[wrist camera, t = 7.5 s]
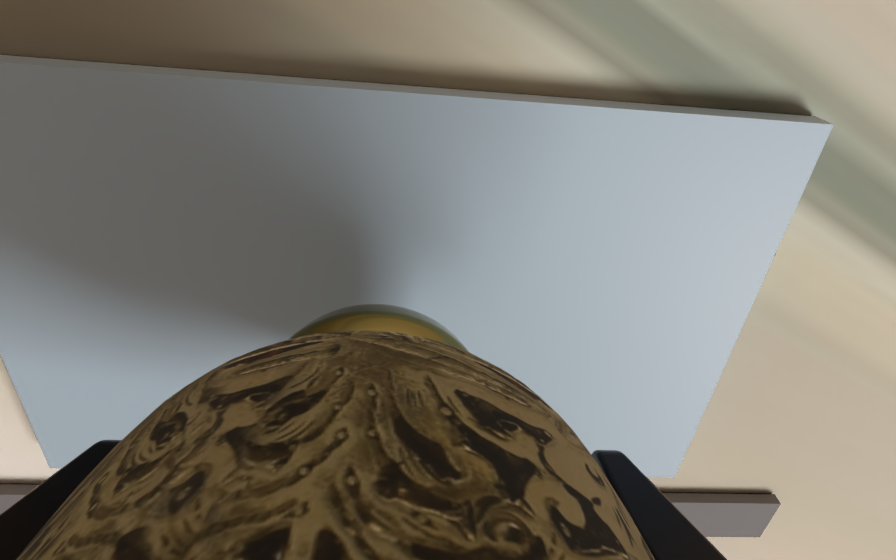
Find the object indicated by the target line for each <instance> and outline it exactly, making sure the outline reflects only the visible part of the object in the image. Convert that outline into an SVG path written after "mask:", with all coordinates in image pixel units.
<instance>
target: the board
mask: <svg viewBox="0 0 896 560" xmlns="http://www.w3.org/2000/svg"><path fill="white" fill-rule="evenodd" d="M832 127H833V124H831V123H829V122H827V121H824V120H822V119H820V118H818V117H816V116H804V115H790V114H777V113H764V112H751V111H737V110H724V109H711V108H698V107H684V106H671V105H658V104H645V103H631V102H618V101H605V100H592V99H579V98H565V97H552V96H539V95H526V94H512V93H499V92H486V91H473V90H459V89H446V88H433V87H420V86H406V85H393V84H380V83H367V82H353V81H340V80H327V79H314V78H301V77H287V76H274V75H261V74H248V73H234V72H221V71H208V70H195V69H181V68H168V67H155V66H142V65H128V64H115V63H102V62H89V61H76V60H62V59H49V58H36V57H23V56H9V55H0V355H1V357H2V359H3V362H4V364H5V366H6V369H7V371H8V373H9V375H10V378H11V380H12V382H13V385H14V387H15V389H16V391H17V394H18V396H19V398H20V401H21V403H22V405H23V408H24V410H25V412H26V414H27V417H28V419H29V421H30V424H31V426H32V428H33V430H34V433H35V435H36V437H37V440H38V442H39V444H40V446H41V449H42V451H43V453H44V456H45V458H46V460H47V463H48V465H49V467H50V468H63V467H64V466H65V465H67V464H68V463H69V462H71V461H72V460H73V459H75V458H76V457H77V456H79V455H80V454H81V453H83V452H84V451H85V450H87V449H88V448H89V447H91V446H92V445H93V444H95V443H97V442H99V441H101V440H122V439H124V438H125V437H126V436H127V435H128V434H129V433H130V432H131V431H132V430H133V429H134V428H135V427H136V426H138V425H139V424H140V423H141V422H142V421H143V420H144V419H145V418H146V417H148V416H149V415H150V414H151V413H152V412H153V411H154V410H155V409H156V408H157V407H159V406H160V405H161V404H162V403H163V402H164V401H165V400H167V399H168V398H170V397H171V396H173V395H174V394H175V393H177V392H178V391H180V390H181V389H183V388H184V387H185V386H187V385H188V384H190V383H192V382H193V381H195V380H196V379H198V378H200V377H201V376H203V375H204V374H206V373H207V372H209V371H211V370H213V369H215V368H216V367H218V366H220V365H222V364H224V363H226V362H228V361H229V360H231V359H234V358H236V357H239V356H241V355H244V354H246V353H249V352H251V351H254V350H256V349H259V348H262V347H265V346H268V345H271V344H275V343H278V342H282V341H285V340H288V339H289V338H290V337H291V336H293V335H294V334H295V333H296V332H297V331H299V330H300V329H301V328H303V327H304V326H306V325H307V324H309V323H310V322H311V321H313V320H315V319H317V318H319V317H321V316H322V315H324V314H327V313H329V312H332V311H334V310H337V309H341V308H344V307H349V306H354V305H363V304H386V305H394V306H399V307H404V308H407V309H411V310H414V311H417V312H419V313H422V314H424V315H426V316H428V317H430V318H432V319H434V320H436V321H437V322H439V323H440V324H442V325H443V326H444V327H446V328H447V329H448V330H449V331H450V332H452V333H453V334H454V335H455V336H456V337H457V338H458V339H459V340H460V341H461V343H462V344H463V345H464V346H465V347H466V348H467V349H468V351H469V352H470V353H472V354H473V355H475V356H477V357H479V358H481V359H483V360H485V361H487V362H489V363H491V364H493V365H495V366H497V367H499V368H500V369H502V370H504V371H506V372H507V373H509V374H510V375H512V376H513V377H515V378H516V379H518V380H519V381H521V382H522V383H524V384H525V385H526V386H527V387H529V388H530V389H531V390H532V391H533V392H534V393H536V394H537V395H538V396H539V397H540V398H541V399H543V400H544V401H545V402H546V403H547V404H548V405H549V406H550V407H551V408H552V409H553V410H554V411H556V412H557V413H558V414H559V415H560V416H561V418H562V419H563V420H564V421H565V422H566V423H567V424H568V425H569V426H570V428H571V429H572V430H573V431H574V432H575V434H576V435H577V436H578V438H579V439H580V440H581V442H582V443H583V444H584V446H585V447H586V448H587V450H588V451H589V452H590V454H592V453H593V452H594V451H595V450H617V451H620V452H622V453H623V454H625V455H626V456H627V457H628V458H629V459H630V460H631V462H632V463H633V464H634V465H635V466H636V467H637V468H638V469H639V470H640V471H641V472H642V473H643V474H644V475H645V476H646V477H658V478H675V476H676V473H677V471H678V469H679V467H680V465H681V462H682V460H683V458H684V456H685V453H686V451H687V449H688V447H689V445H690V442H691V440H692V438H693V436H694V433H695V431H696V429H697V427H698V425H699V422H700V420H701V418H702V416H703V413H704V411H705V409H706V407H707V405H708V402H709V400H710V398H711V396H712V393H713V391H714V389H715V387H716V384H717V382H718V380H719V378H720V376H721V373H722V371H723V369H724V367H725V364H726V362H727V360H728V358H729V356H730V353H731V351H732V349H733V347H734V344H735V342H736V340H737V338H738V336H739V333H740V331H741V329H742V327H743V324H744V322H745V320H746V318H747V316H748V313H749V311H750V309H751V307H752V304H753V302H754V300H755V298H756V296H757V293H758V291H759V289H760V287H761V284H762V282H763V280H764V278H765V276H766V273H767V271H768V269H769V267H770V264H771V262H772V260H773V258H774V256H775V253H776V251H777V249H778V247H779V244H780V242H781V240H782V238H783V236H784V233H785V231H786V229H787V227H788V224H789V222H790V220H791V218H792V216H793V213H794V211H795V209H796V207H797V204H798V202H799V200H800V198H801V196H802V193H803V191H804V189H805V187H806V184H807V182H808V180H809V178H810V176H811V173H812V171H813V169H814V167H815V164H816V162H817V160H818V158H819V156H820V153H821V151H822V149H823V147H824V144H825V142H826V140H827V138H828V136H829V133H830V131H831V129H832Z"/></svg>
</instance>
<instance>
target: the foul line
mask: <svg viewBox="0 0 896 560" xmlns="http://www.w3.org/2000/svg"><path fill="white" fill-rule="evenodd" d="M37 486H39V485H22V484H0V514H1V513H2V512H4V511H5V510H6V509H8V508H9V507H10V506H12V505H13V504H15V503H16V502H17V501H19V500H20V499H21V498H23V497H24V496H25V495H27V494H28V493H29V492H31V491H32V490H33V489H35V488H36V487H37ZM663 494H664V495H665V496H666V497H667V498H668V499H669V501H670V502H671V503H672V504H673V505H674V506H675V507H676V508H677V509H678V510H679V511H680V512H681V513H682V514H683V515H684V516H685V517H686V518H687V519H688V520H689V521H690V522H691V523H692V524H693V525H694V526H695V527H696V528H697V529H698V530H699V531H700V532H701V533H702V534H703V535H704V536H705V537H760V536H761V535H762V533H763V531H764V530H765V528H766V527H767V525H768V523H769V522H770V520H771V519H772V517H773V515H774V514H775V512H776V511H777V509H778V507H779V506H780V502H779V500H778V499H777V497H776V496H775V494H704V493H663Z"/></svg>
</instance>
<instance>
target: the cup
mask: <svg viewBox="0 0 896 560" xmlns="http://www.w3.org/2000/svg"><path fill="white" fill-rule="evenodd" d="M16 560H655V559H654V557H653V555H652V554H651V552H650V550H649V548H648V546H647V545H646V543H645V541H644V539H643V537H642V536H641V534H640V532H639V530H638V528H637V527H636V525H635V523H634V521H633V519H632V518H631V516H630V514H629V513H628V511H627V509H626V508H625V506H624V505H623V503H622V501H621V500H620V498H619V497H618V495H617V493H616V492H615V490H614V488H613V487H612V485H611V484H610V482H609V480H608V479H607V477H606V476H605V474H604V473H603V471H602V470H601V468H600V466H599V465H598V463H597V462H596V460H595V459H594V458H593V456H592V455H591V454H590V452H589V451H588V450H587V448H586V447H585V446H584V444H583V443H582V442H581V440H580V439H579V438H578V436H577V435H576V434H575V432H574V431H573V430H572V429H571V428H570V426H569V425H568V424H567V423H566V422H565V421H564V420H563V419H562V418H561V416H560V415H559V414H558V413H557V412H556V411H554V410H553V409H552V408H551V407H550V406H549V405H548V404H547V403H546V402H545V401H544V400H543V399H541V398H540V397H539V396H538V395H537V394H536V393H534V392H533V391H532V390H531V389H530V388H529V387H527V386H526V385H525V384H524V383H522V382H521V381H519V380H518V379H516V378H515V377H513V376H512V375H510V374H509V373H507V372H506V371H504V370H502V369H500V368H499V367H497V366H495V365H493V364H491V363H489V362H487V361H485V360H483V359H481V358H479V357H477V356H475V355H473V354H472V353H470V352H469V351H468V349H467V348H466V347H465V346H464V345H463V344H462V343H461V341H460V340H459V339H458V338H457V337H456V336H455V335H454V334H453V333H452V332H450V331H449V330H448V329H447V328H446V327H444V326H443V325H442V324H440V323H439V322H437V321H436V320H434V319H432V318H430V317H428V316H426V315H424V314H422V313H419V312H417V311H414V310H411V309H407V308H404V307H399V306H394V305H386V304H363V305H354V306H349V307H344V308H341V309H337V310H334V311H332V312H329V313H327V314H324V315H322V316H321V317H319V318H317V319H315V320H313V321H311V322H310V323H309V324H307V325H306V326H304V327H303V328H301V329H300V330H299V331H297V332H296V333H295V334H294V335H293V336H291V337H290V338H289V339H288V340H285V341H282V342H278V343H275V344H271V345H268V346H265V347H262V348H259V349H256V350H254V351H251V352H249V353H246V354H244V355H241V356H239V357H236V358H234V359H231V360H229V361H228V362H226V363H224V364H222V365H220V366H218V367H216V368H215V369H213V370H211V371H209V372H207V373H206V374H204V375H203V376H201V377H200V378H198V379H196V380H195V381H193V382H192V383H190V384H188V385H187V386H185V387H184V388H183V389H181V390H180V391H178V392H177V393H175V394H174V395H173V396H171V397H170V398H168V399H167V400H165V401H164V402H163V403H162V404H161V405H160V406H159V407H157V408H156V409H155V410H154V411H153V412H152V413H151V414H150V415H149V416H148V417H146V418H145V419H144V420H143V421H142V422H141V423H140V424H139V425H138V426H136V427H135V428H134V429H133V430H132V431H131V432H130V433H129V434H128V435H127V436H126V437H125V438H124V439H122V440H121V441H120V442H119V443H118V444H117V445H116V446H115V447H114V448H113V449H112V450H111V451H110V452H109V453H108V454H107V455H106V457H105V458H104V459H103V460H102V461H101V462H100V463H99V464H98V465H97V466H96V467H95V468H94V469H93V470H92V472H91V473H90V474H89V475H88V476H87V477H86V478H85V479H84V480H83V481H82V482H81V483H80V484H79V485H78V487H77V488H76V489H75V490H74V491H73V492H72V494H71V495H70V496H69V497H68V498H67V499H66V501H65V502H64V503H63V504H62V505H61V506H60V508H59V509H58V510H57V511H56V512H55V513H54V515H53V516H52V517H51V518H50V519H49V520H48V522H47V523H46V524H45V525H44V526H43V528H42V529H41V530H40V531H39V532H38V533H37V535H36V536H35V537H34V538H33V539H32V541H31V542H30V543H29V544H28V545H27V547H26V548H25V549H24V550H23V552H22V553H21V554H20V555H19V556H18V558H17V559H16Z"/></svg>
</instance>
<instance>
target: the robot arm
mask: <svg viewBox="0 0 896 560" xmlns="http://www.w3.org/2000/svg"><path fill="white" fill-rule="evenodd" d="M120 441H121V440H101V441H99V442H97V443H95V444H93V445H92V446H91V447H89V448H88V449H87V450H85V451H84V452H83V453H81V454H80V455H79V456H77V457H76V458H75V459H73V460H72V461H71V462H69V463H68V464H67V465H65V466H64V467H63V468H61V469H60V470H59V471H57V472H56V473H55V474H53V475H52V476H51V477H49V478H48V479H47V480H45V481H44V482H43V483H41V484H40V485H39V486H37V487H36V488H35V489H33V490H32V491H31V492H29V493H28V494H27V495H25V496H24V497H23V498H21V499H20V500H19V501H17V502H16V503H15V504H13V505H12V506H10V507H9V508H8V509H6V510H5V511H4V512H2V513H1V514H0V560H16V559H17V558H18V556H19V555H20V554H21V553H22V552H23V550H24V549H25V548H26V547H27V545H28V544H29V543H30V542H31V541H32V539H33V538H34V537H35V536H36V535H37V533H38V532H39V531H40V530H41V529H42V528H43V526H44V525H45V524H46V523H47V522H48V520H49V519H50V518H51V517H52V516H53V515H54V513H55V512H56V511H57V510H58V509H59V508H60V506H61V505H62V504H63V503H64V502H65V501H66V499H67V498H68V497H69V496H70V495H71V494H72V492H73V491H74V490H75V489H76V488H77V487H78V485H79V484H80V483H81V482H82V481H83V480H84V479H85V478H86V477H87V476H88V475H89V474H90V473H91V472H92V470H93V469H94V468H95V467H96V466H97V465H98V464H99V463H100V462H101V461H102V460H103V459H104V458H105V457H106V455H107V454H108V453H109V452H110V451H111V450H112V449H113V448H114V447H115V446H116V445H117V444H118V443H119V442H120ZM591 455H592V456H593V458H594V459H595V460H596V462H597V463H598V465H599V466H600V468H601V470H602V471H603V473H604V474H605V476H606V477H607V479H608V480H609V482H610V484H611V485H612V487H613V488H614V490H615V492H616V493H617V495H618V497H619V498H620V500H621V501H622V503H623V505H624V506H625V508H626V509H627V511H628V513H629V514H630V516H631V518H632V519H633V521H634V523H635V525H636V527H637V528H638V530H639V532H640V534H641V536H642V537H643V539H644V541H645V543H646V545H647V546H648V548H649V550H650V552H651V554H652V555H653V557H654V559H655V560H727V559H726V558H725V557H724V556H723V555H722V554H721V553H720V552H719V551H718V550H717V549H716V548H715V547H714V546H713V545H712V544H711V543H710V542H709V541H708V540H707V538H706V537H705V536H704V535H703V534H702V533H701V532H700V531H699V530H698V529H697V528H696V527H695V526H694V525H693V524H692V523H691V522H690V521H689V520H688V519H687V518H686V517H685V516H684V515H683V514H682V513H681V512H680V511H679V510H678V509H677V508H676V507H675V506H674V505H673V504H672V503H671V502H670V501H669V499H668V498H667V497H666V496H665V495H664V494H663V493H662V492H661V491H660V490H659V489H658V488H657V487H656V486H655V485H654V484H653V483H652V482H651V481H650V480H649V479H648V478H647V477H646V476H645V475H644V474H643V473H642V472H641V471H640V470H639V469H638V468H637V467H636V466H635V465H634V464H633V463H632V462H631V460H630V459H629V458H628V457H627V456H626V455H625V454H623V453H622V452H620V451H617V450H595V451H594V452H593V453H592V454H591Z"/></svg>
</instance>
